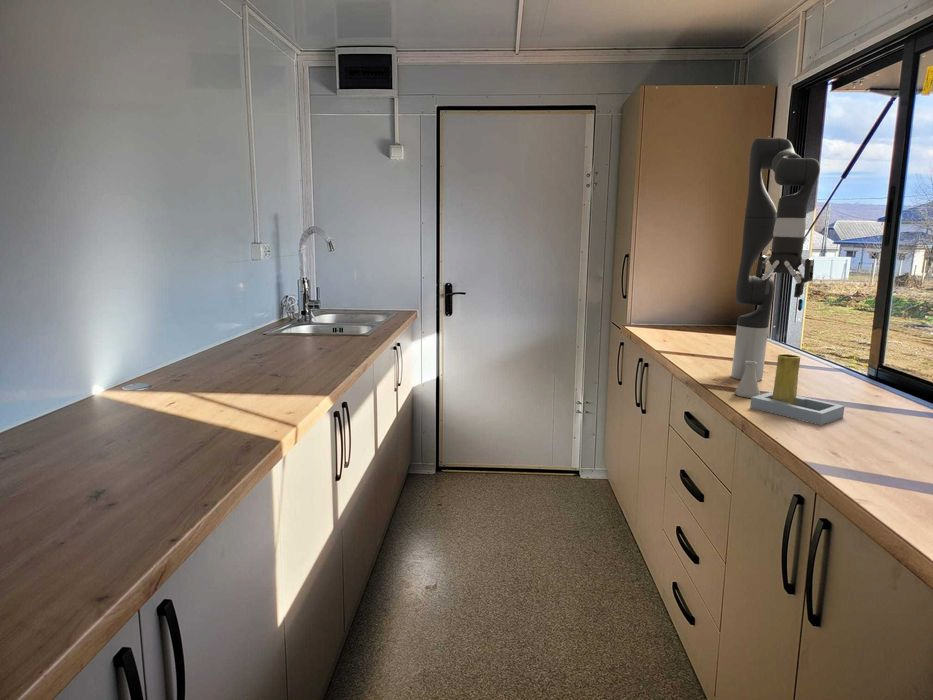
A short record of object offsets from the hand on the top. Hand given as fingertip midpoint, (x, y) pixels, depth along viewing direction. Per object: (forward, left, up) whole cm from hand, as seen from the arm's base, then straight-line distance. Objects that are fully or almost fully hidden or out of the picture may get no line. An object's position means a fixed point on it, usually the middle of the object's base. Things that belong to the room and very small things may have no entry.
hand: (781, 295), depth 169 cm
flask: (0, -6, -30) cm, 31 cm away
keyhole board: (+6, +10, -30) cm, 32 cm away
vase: (+6, +7, -30) cm, 31 cm away
